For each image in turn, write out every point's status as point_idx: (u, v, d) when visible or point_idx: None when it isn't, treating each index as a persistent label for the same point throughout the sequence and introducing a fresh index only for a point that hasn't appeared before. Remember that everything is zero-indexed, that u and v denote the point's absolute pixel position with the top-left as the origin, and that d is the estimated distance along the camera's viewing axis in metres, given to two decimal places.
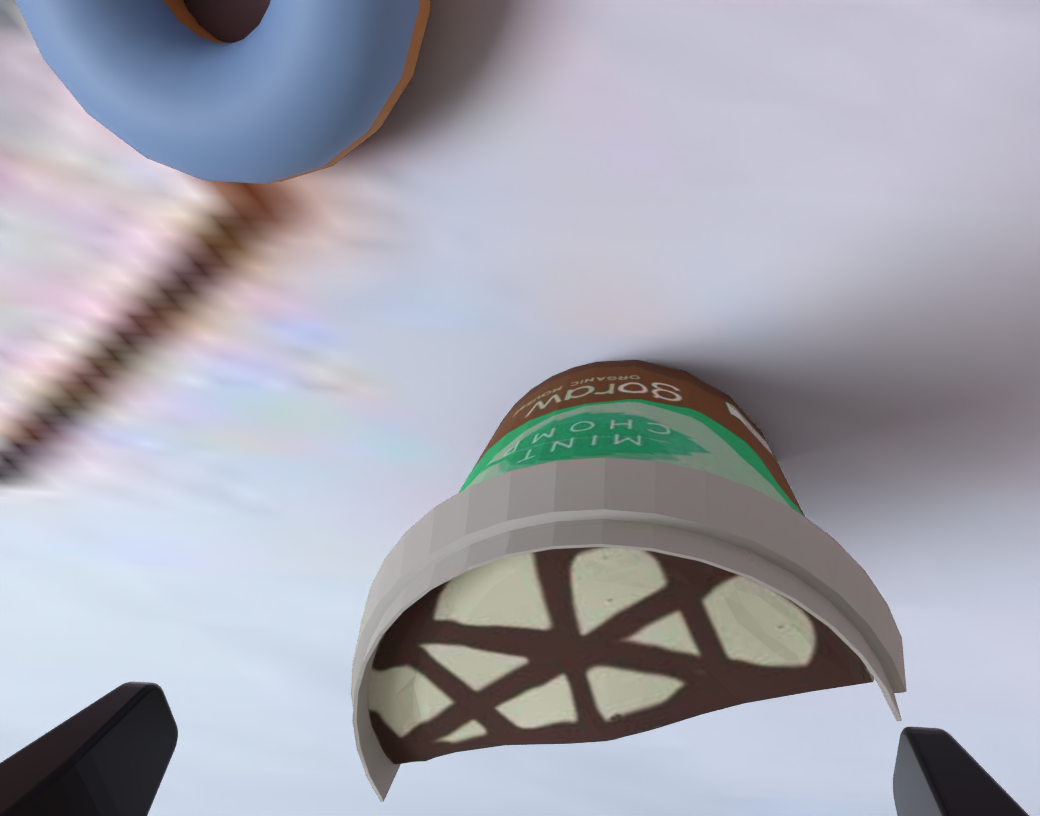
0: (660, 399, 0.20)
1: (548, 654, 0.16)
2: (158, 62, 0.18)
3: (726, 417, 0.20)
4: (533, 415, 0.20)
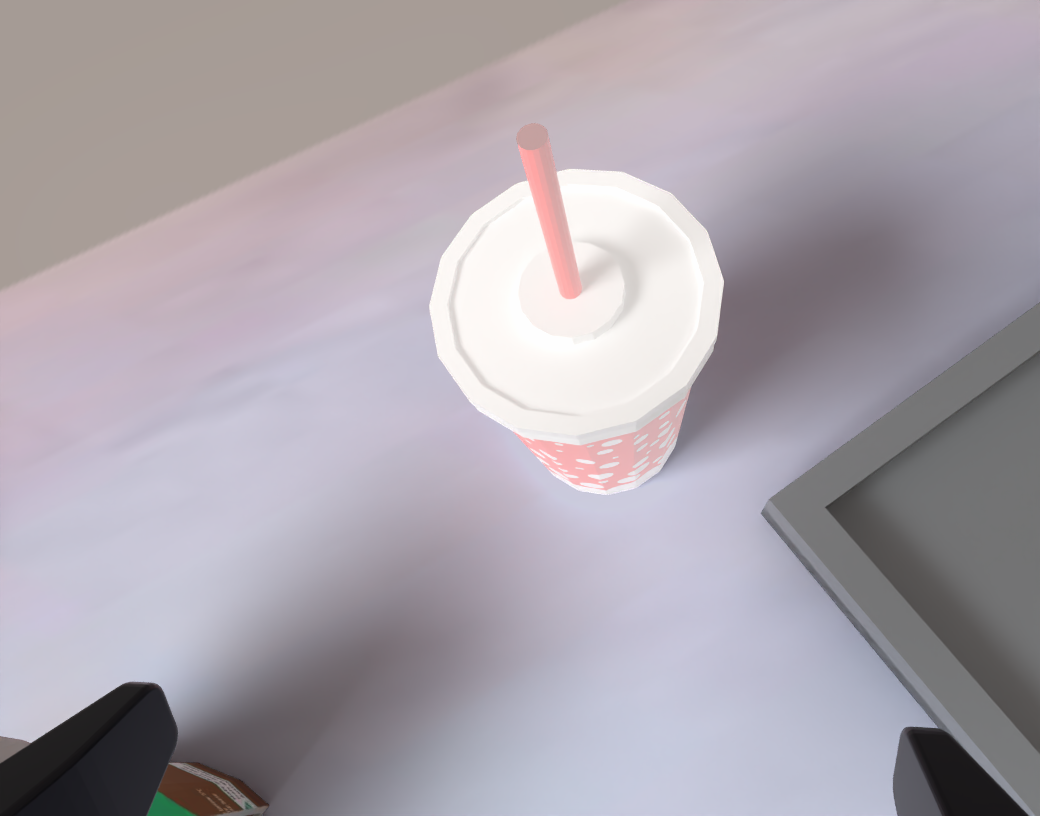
0: None
1: None
2: None
3: None
4: None
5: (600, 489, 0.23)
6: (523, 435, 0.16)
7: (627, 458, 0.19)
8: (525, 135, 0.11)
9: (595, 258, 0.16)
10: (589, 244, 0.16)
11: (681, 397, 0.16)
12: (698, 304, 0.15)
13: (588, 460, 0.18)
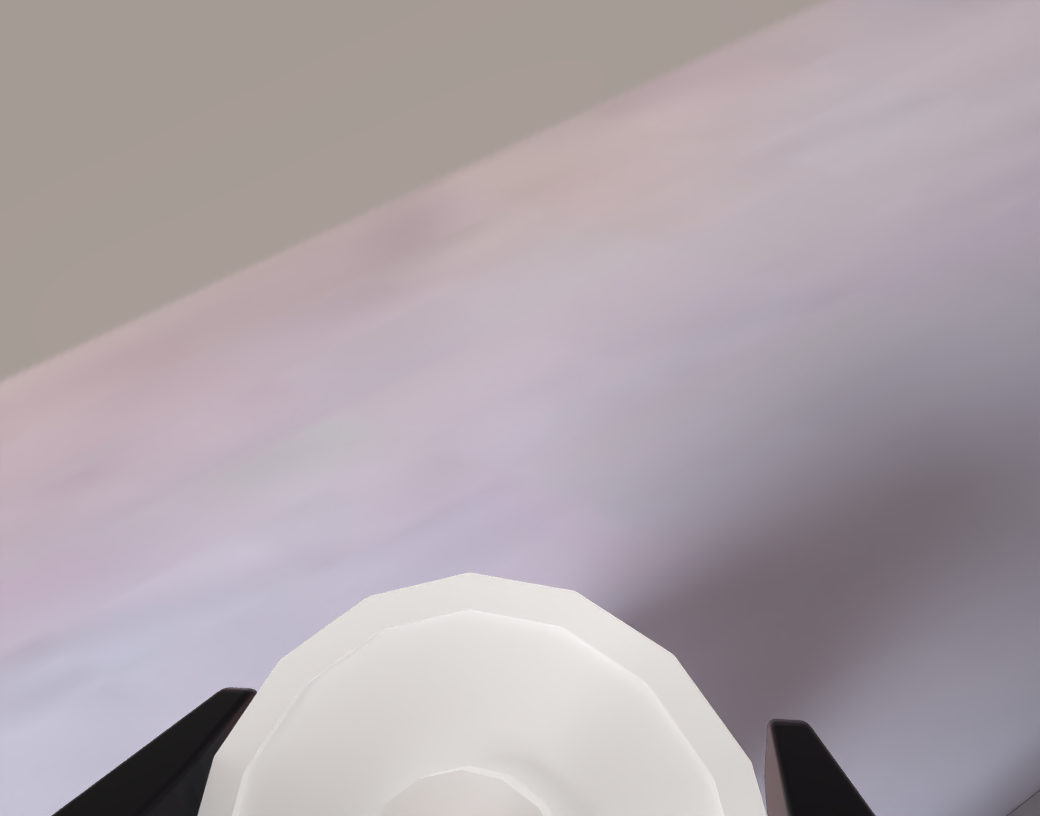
0: None
1: None
2: None
3: None
4: None
5: None
6: None
7: None
8: None
9: None
10: (501, 784, 0.08)
11: None
12: None
13: None
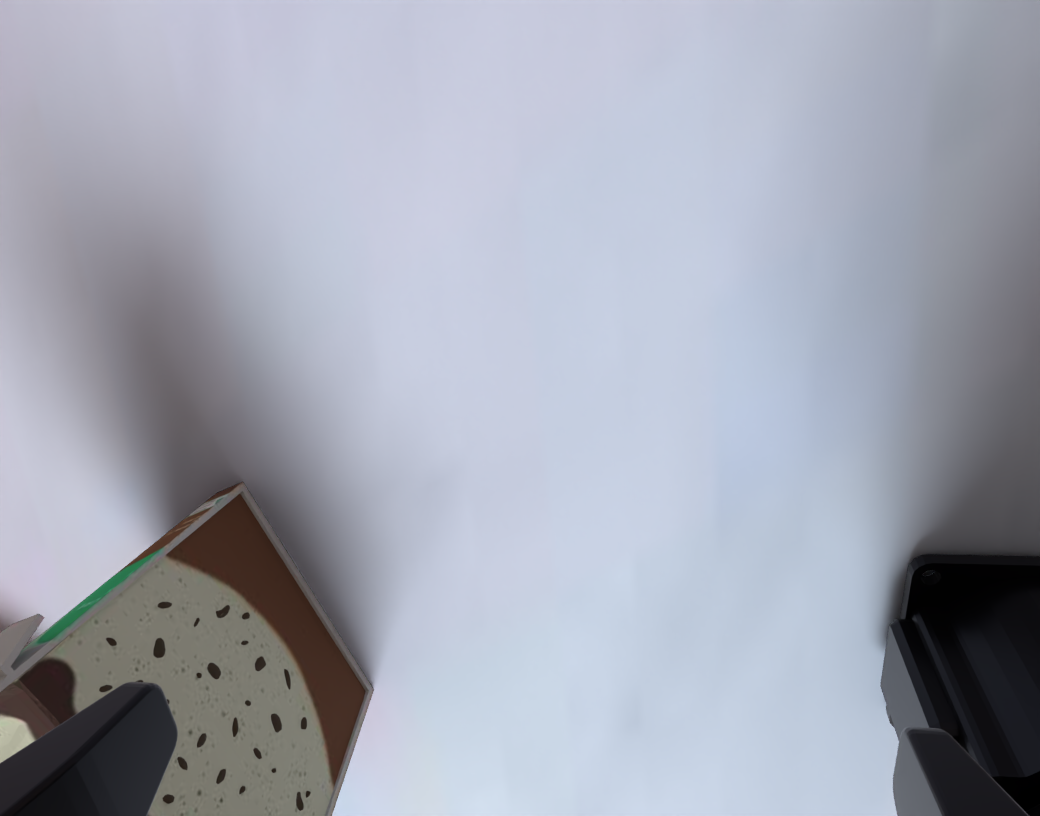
0: None
1: None
2: None
3: None
4: None
5: None
6: None
7: None
8: None
9: None
10: None
11: None
12: None
13: None
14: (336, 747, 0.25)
